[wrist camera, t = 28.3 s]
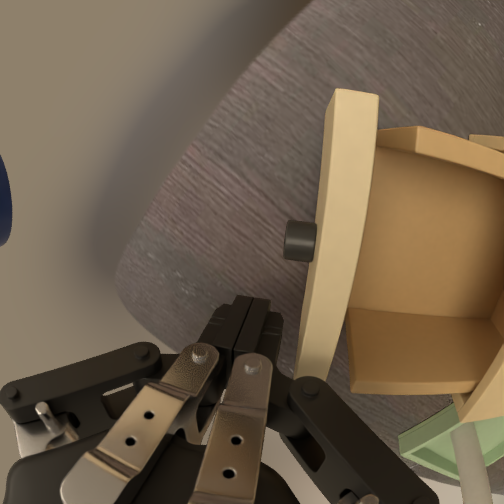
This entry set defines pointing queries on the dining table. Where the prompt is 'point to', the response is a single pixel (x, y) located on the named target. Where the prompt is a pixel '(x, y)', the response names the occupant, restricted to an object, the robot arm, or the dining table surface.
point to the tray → (449, 441)
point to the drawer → (401, 255)
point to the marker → (471, 465)
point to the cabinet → (500, 372)
